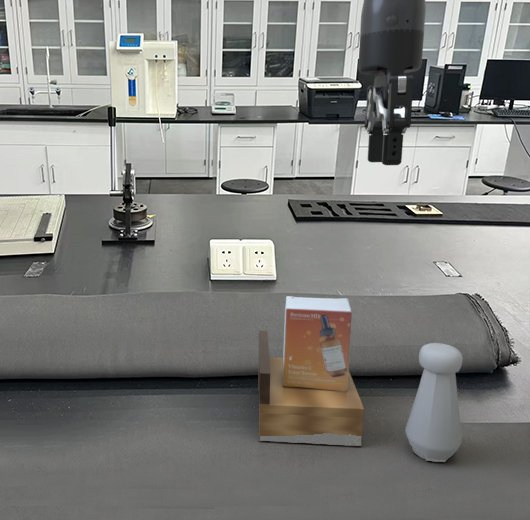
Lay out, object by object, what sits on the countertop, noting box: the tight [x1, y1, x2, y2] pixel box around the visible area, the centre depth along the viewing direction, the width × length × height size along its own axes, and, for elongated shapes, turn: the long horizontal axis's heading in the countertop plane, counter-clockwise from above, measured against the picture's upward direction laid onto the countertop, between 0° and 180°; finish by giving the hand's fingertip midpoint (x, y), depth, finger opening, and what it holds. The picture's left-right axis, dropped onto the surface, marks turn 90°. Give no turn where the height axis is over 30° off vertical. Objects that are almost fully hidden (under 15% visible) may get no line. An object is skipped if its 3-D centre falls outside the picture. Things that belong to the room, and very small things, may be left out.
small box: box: [282, 295, 353, 392], centre depth 67 cm, size 8×6×10 cm
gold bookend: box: [257, 330, 365, 437], centre depth 69 cm, size 12×14×9 cm
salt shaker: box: [405, 342, 464, 460], centre depth 60 cm, size 6×6×13 cm
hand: (383, 163), depth 70 cm, fingers open, 8 cm apart
